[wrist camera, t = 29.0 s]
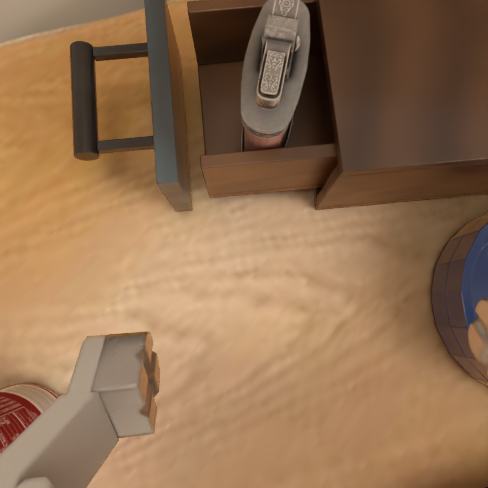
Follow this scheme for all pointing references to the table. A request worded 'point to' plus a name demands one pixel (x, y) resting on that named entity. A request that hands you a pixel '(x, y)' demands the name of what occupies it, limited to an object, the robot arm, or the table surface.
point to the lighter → (274, 74)
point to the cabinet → (405, 99)
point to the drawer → (210, 106)
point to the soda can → (21, 409)
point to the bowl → (462, 292)
